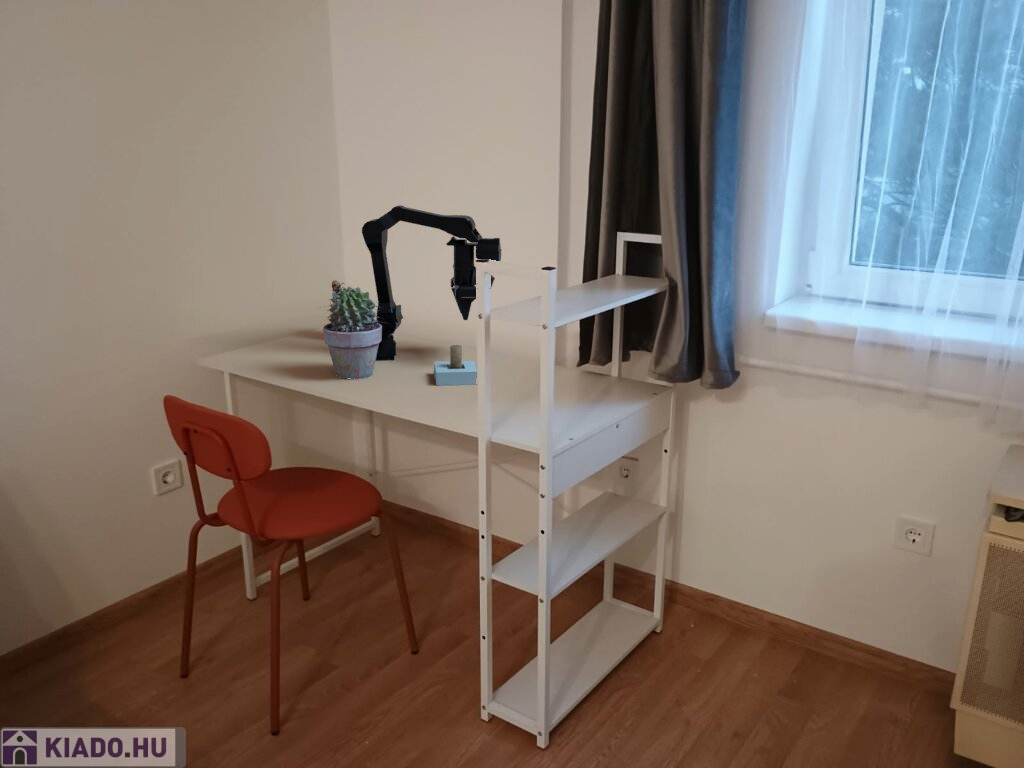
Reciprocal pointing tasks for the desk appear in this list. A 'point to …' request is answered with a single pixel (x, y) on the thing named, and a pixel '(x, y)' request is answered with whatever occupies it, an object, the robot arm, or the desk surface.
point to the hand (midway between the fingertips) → (464, 316)
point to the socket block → (455, 374)
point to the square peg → (455, 357)
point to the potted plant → (352, 332)
